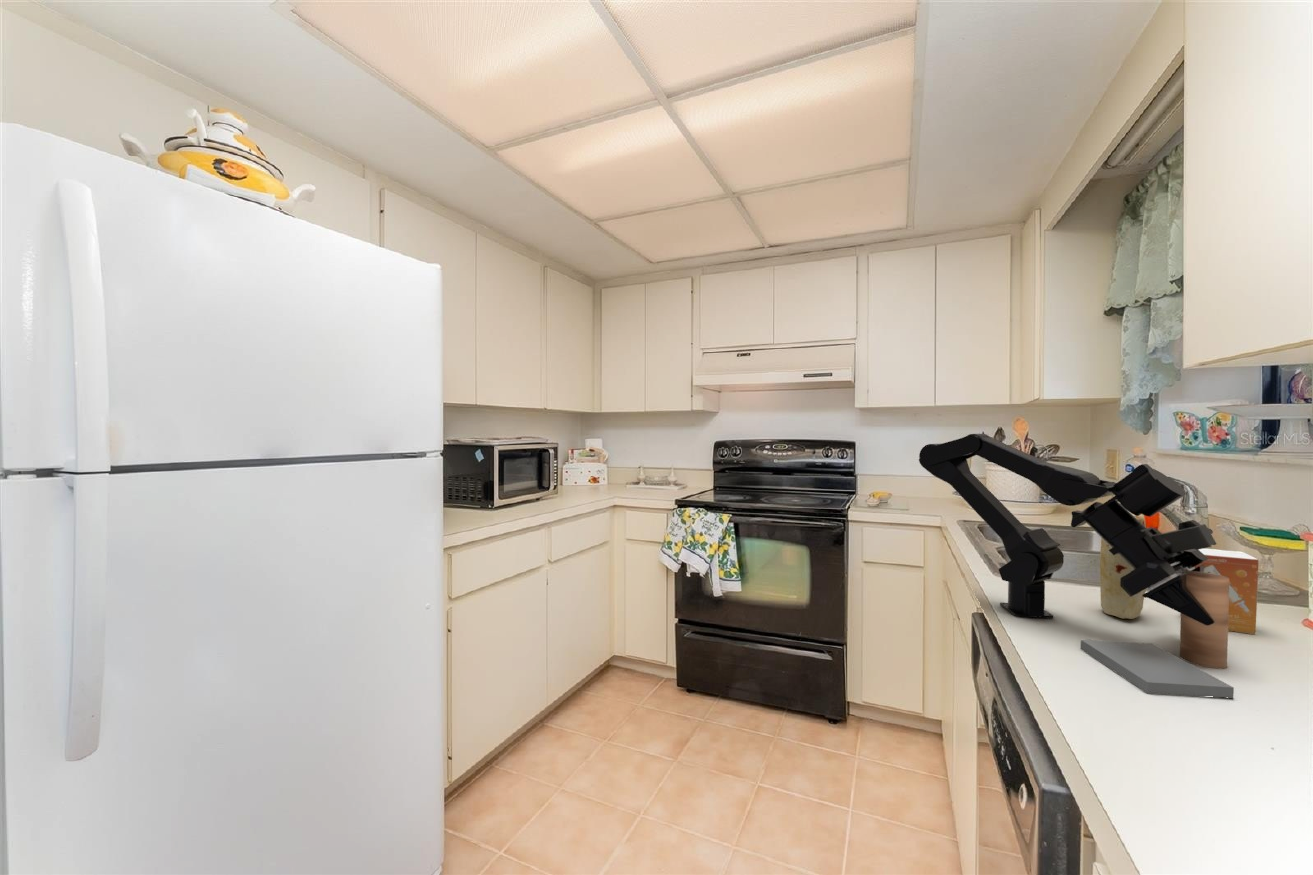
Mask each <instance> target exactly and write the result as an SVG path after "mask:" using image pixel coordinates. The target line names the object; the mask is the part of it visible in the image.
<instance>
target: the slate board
mask: <svg viewBox="0 0 1313 875" xmlns="http://www.w3.org/2000/svg"><path fill="white" fill-rule="evenodd" d="M1080 649H1081V651H1083V652H1085V653H1086V654H1088V655H1089V656H1091V657H1092V658H1094V660H1097V661H1098V662H1100V663H1101V664H1102V665H1104V666H1106V667H1107V668H1109V669H1110V670H1111V671H1113V672H1114V673H1116V674H1118V675H1119V676H1121V678H1123V679H1125V680H1126V681H1128V682H1130V683H1131V684H1132V685H1134V686H1136V687H1137V688H1138V689H1140V690H1142V691H1143V692H1144V693H1146V694H1152V695H1153V694H1154V695H1166V696H1167V695H1171V696H1182V695H1183V696H1184V695H1185V697H1186V696H1187V697H1198V696H1213V697H1228V698H1227V699H1229V698H1233V699H1234V693H1235V692H1234V691H1235V687H1234V686H1231V685H1230V684H1228V683H1226V682H1224V680H1223V681H1222V680H1220V679H1219V678H1218V677H1217V678H1216V677H1215V676H1213V675H1211V674H1209V673H1208V672H1206V671H1204V670H1203V669H1201V668H1198V667H1196V666H1195V665H1194V664H1192V663H1190V662H1188V661H1186V660H1184V659H1182V658H1181V657H1178V656H1176V655H1174V654H1172V653H1171V652H1168V651H1167V650H1165V649H1163V648H1162V647H1159V646H1157V645H1156V644H1154V643H1152V642H1150V643H1149V642H1133V641H1132V642H1131V641H1118V640H1117V641H1115V640H1114V641H1113V640H1100V639H1099V640H1098V639H1097V640H1095V639H1080ZM1213 697H1212V698H1213Z"/></svg>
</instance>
